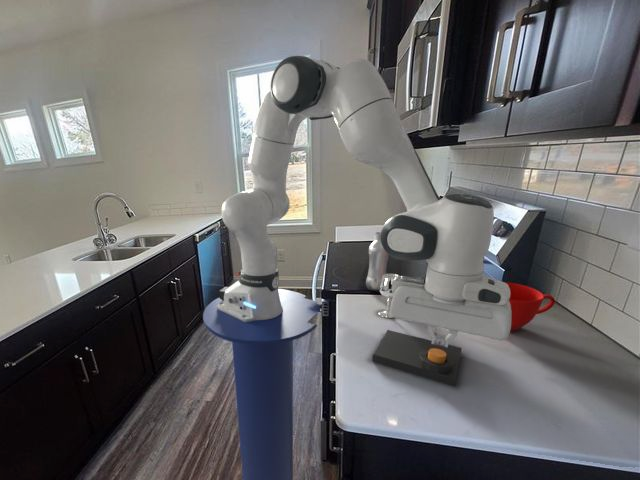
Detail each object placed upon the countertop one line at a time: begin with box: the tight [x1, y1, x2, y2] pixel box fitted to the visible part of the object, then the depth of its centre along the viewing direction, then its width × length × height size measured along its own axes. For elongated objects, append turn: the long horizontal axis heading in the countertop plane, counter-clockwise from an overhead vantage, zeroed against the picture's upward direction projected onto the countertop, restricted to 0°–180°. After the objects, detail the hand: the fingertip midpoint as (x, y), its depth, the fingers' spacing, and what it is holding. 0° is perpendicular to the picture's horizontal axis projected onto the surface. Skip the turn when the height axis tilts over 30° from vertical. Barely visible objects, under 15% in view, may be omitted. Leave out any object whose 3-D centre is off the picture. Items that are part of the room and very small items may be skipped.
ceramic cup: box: [503, 281, 556, 332], centre depth 82 cm, size 13×17×10 cm
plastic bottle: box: [365, 231, 390, 292], centre depth 107 cm, size 6×7×20 cm
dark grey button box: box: [371, 329, 463, 387], centre depth 72 cm, size 16×13×4 cm
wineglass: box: [378, 273, 402, 319], centre depth 91 cm, size 6×6×12 cm
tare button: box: [428, 348, 447, 364], centre depth 67 cm, size 3×3×2 cm
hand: (439, 344), depth 66 cm, fingers closed
